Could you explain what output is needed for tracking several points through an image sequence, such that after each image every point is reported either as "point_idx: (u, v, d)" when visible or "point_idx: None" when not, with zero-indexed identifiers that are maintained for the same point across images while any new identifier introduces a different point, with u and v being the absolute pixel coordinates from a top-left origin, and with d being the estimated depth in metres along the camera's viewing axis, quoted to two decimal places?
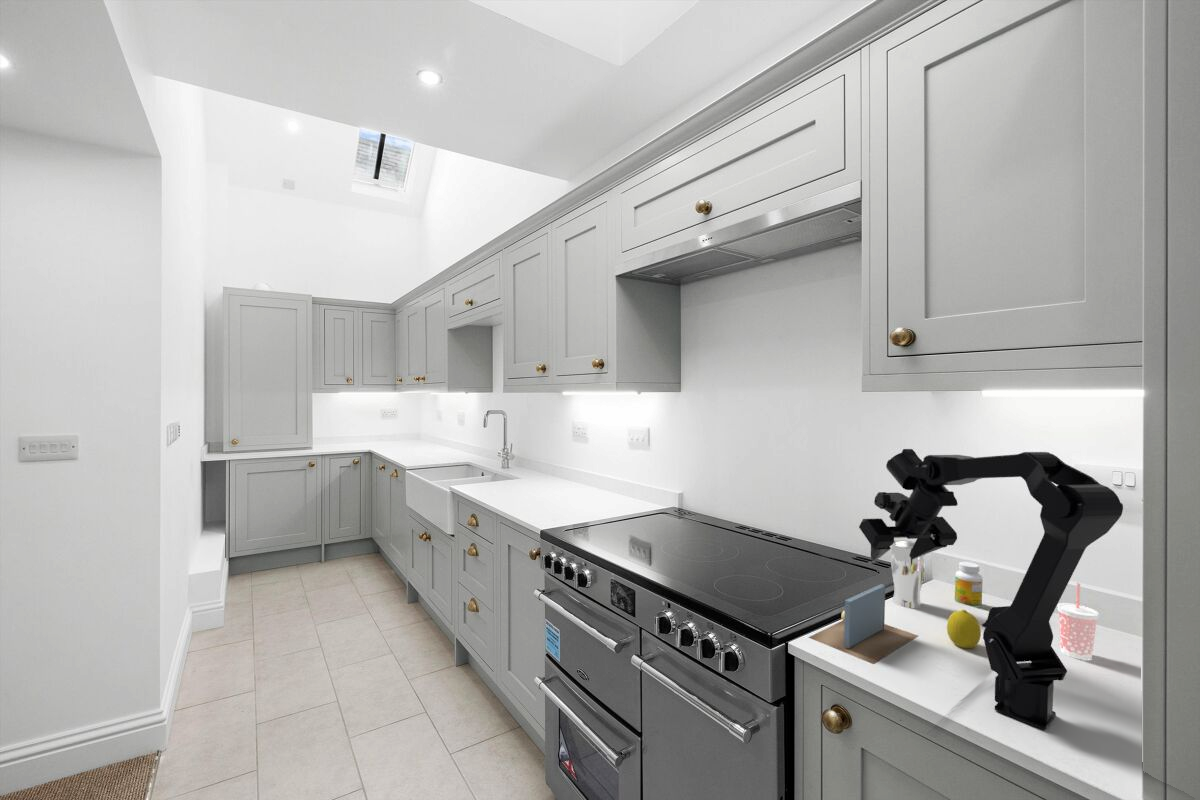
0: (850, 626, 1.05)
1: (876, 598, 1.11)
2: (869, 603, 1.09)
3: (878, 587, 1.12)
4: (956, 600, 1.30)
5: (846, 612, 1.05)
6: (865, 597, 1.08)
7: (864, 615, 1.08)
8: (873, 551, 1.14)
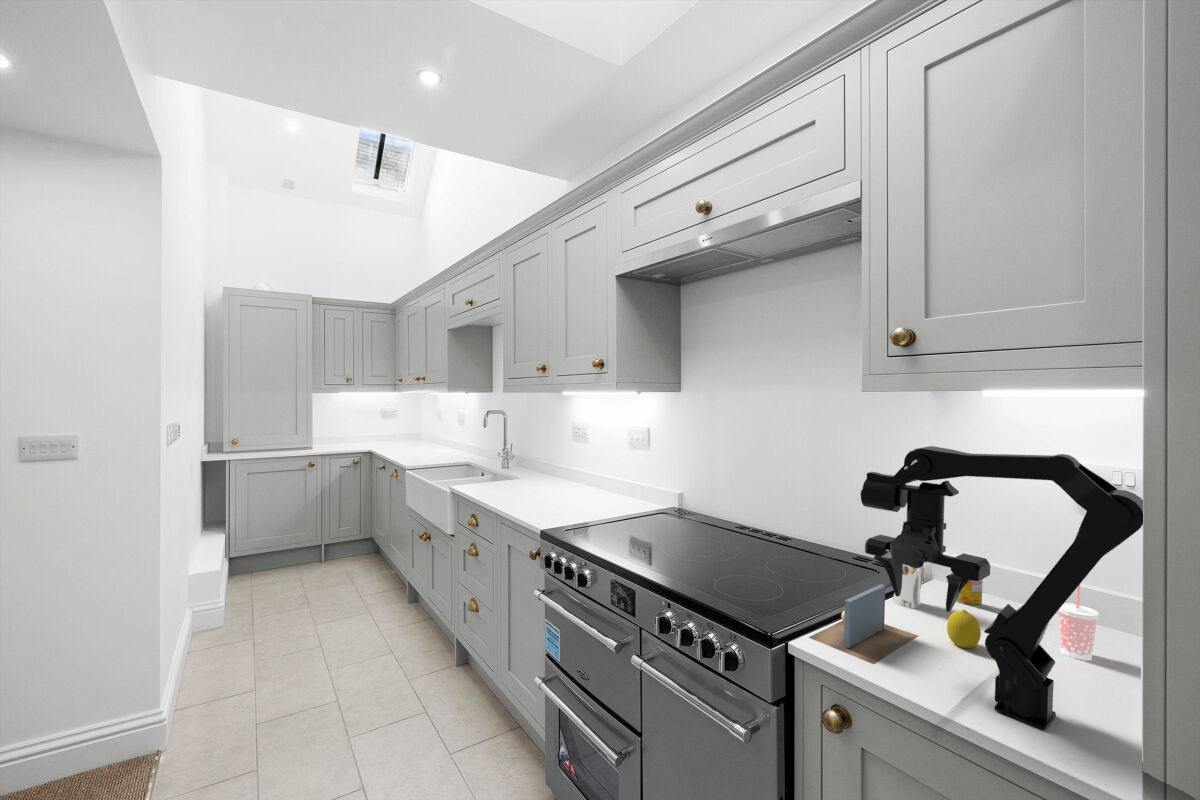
0: (850, 626, 1.05)
1: (876, 598, 1.11)
2: (869, 603, 1.09)
3: (878, 587, 1.12)
4: (956, 600, 1.30)
5: (846, 612, 1.05)
6: (865, 597, 1.08)
7: (864, 615, 1.08)
8: (955, 598, 0.93)
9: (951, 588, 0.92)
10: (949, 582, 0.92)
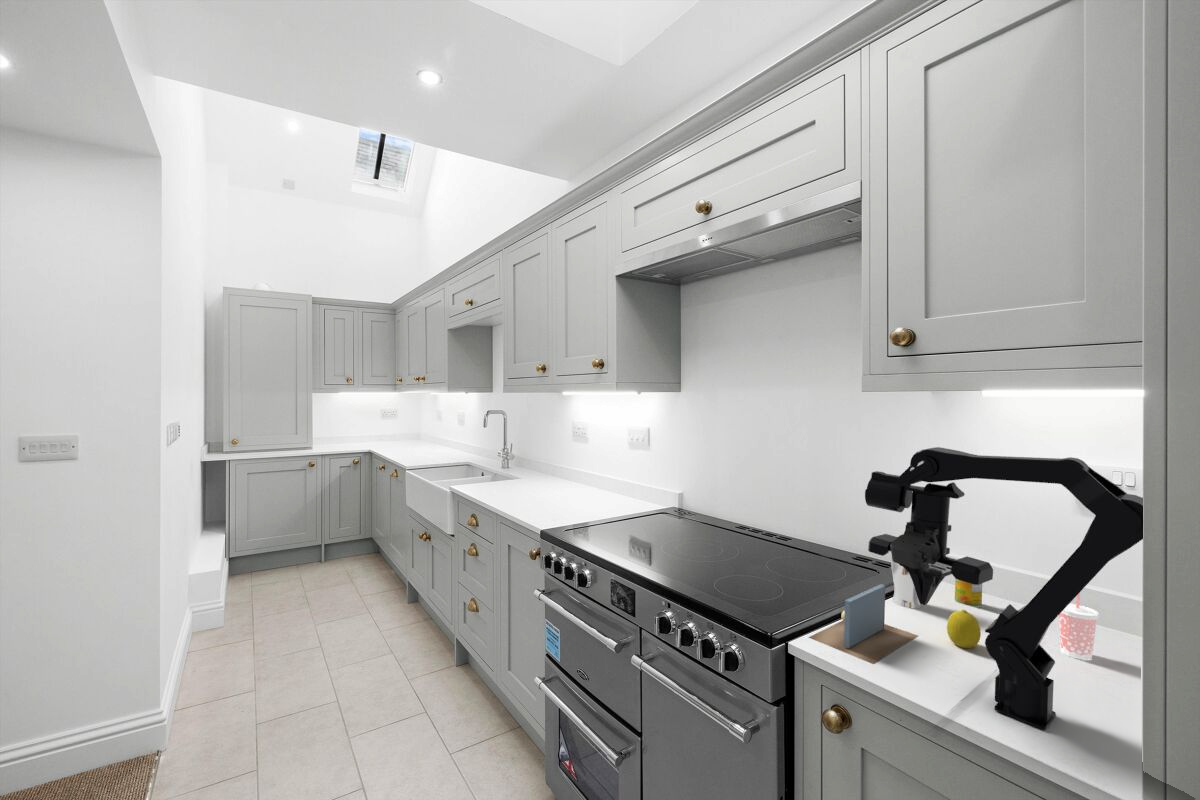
0: (850, 626, 1.05)
1: (876, 598, 1.11)
2: (869, 603, 1.09)
3: (878, 587, 1.12)
4: (956, 600, 1.30)
5: (846, 612, 1.05)
6: (865, 597, 1.08)
7: (864, 615, 1.08)
8: (931, 592, 0.96)
9: (927, 582, 0.95)
10: (925, 576, 0.95)
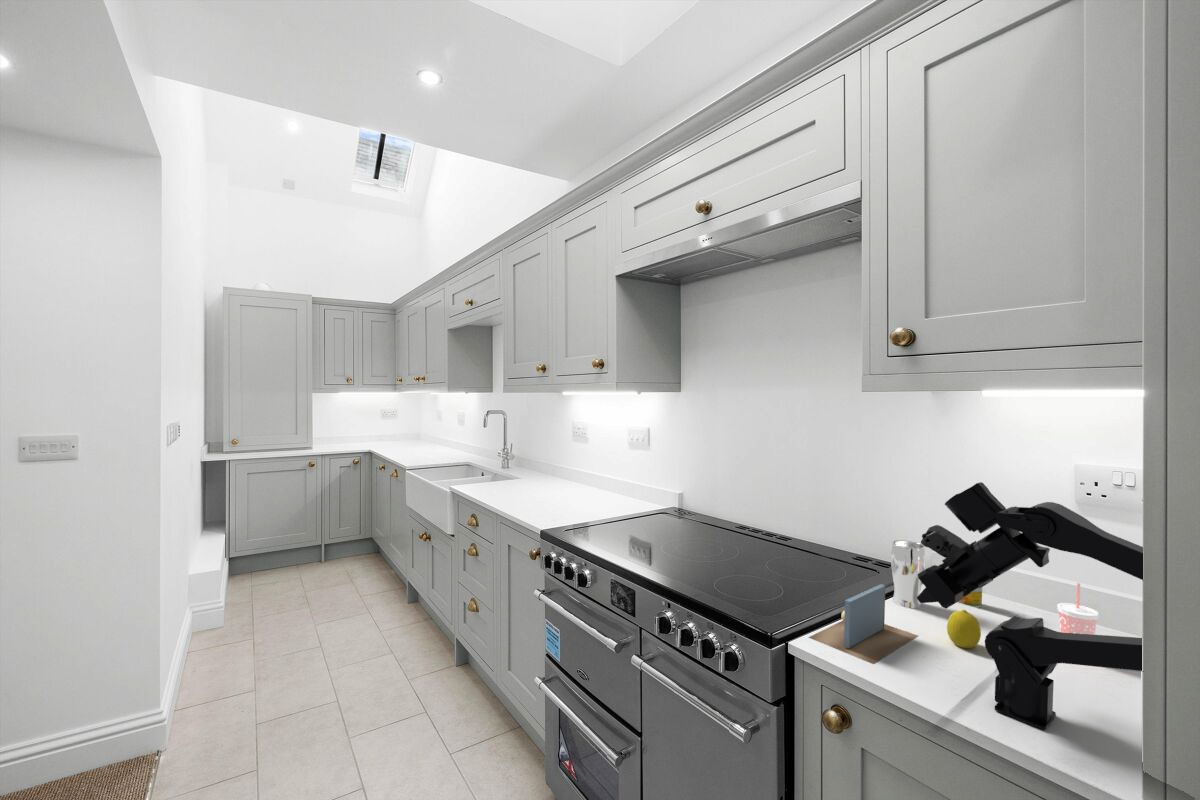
0: (850, 626, 1.05)
1: (876, 598, 1.11)
2: (869, 603, 1.09)
3: (878, 587, 1.12)
4: None
5: (846, 612, 1.05)
6: (865, 597, 1.08)
7: (864, 615, 1.08)
8: (928, 595, 0.96)
9: None
10: None
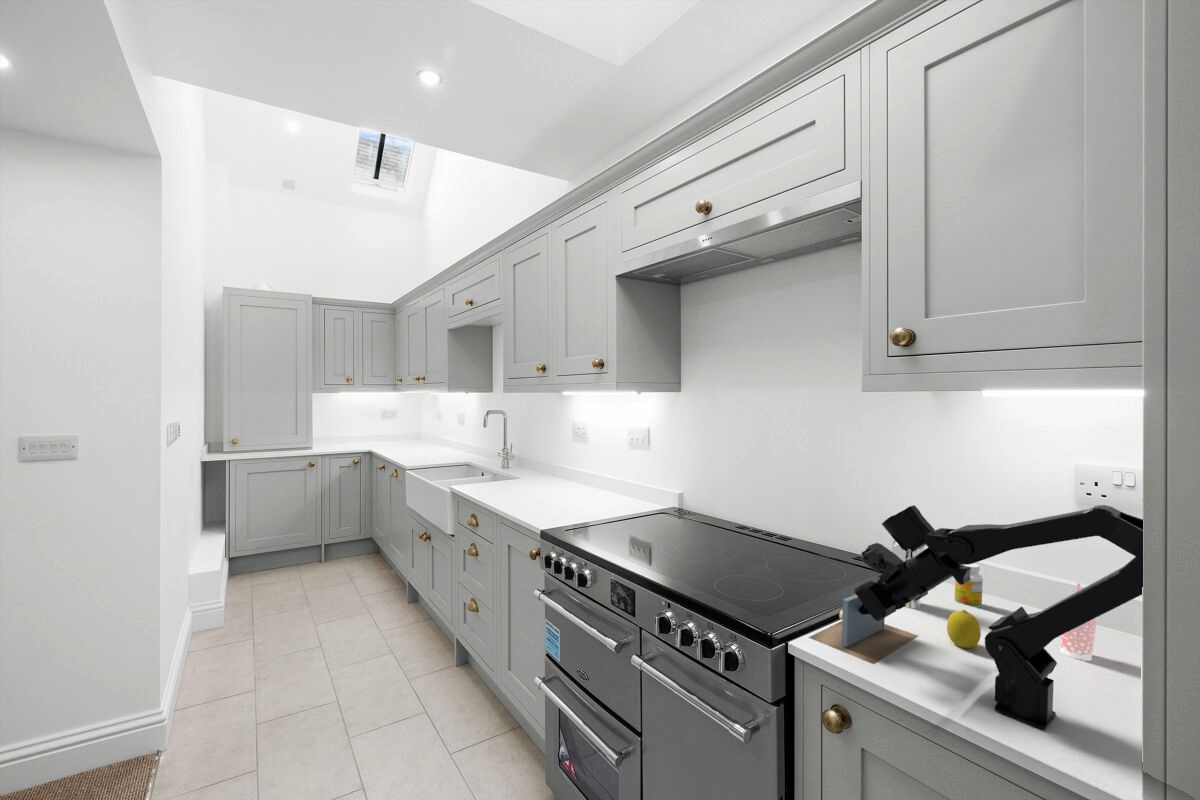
0: (848, 625, 1.05)
1: None
2: None
3: None
4: (956, 600, 1.30)
5: (844, 611, 1.05)
6: None
7: (863, 615, 1.08)
8: None
9: None
10: None
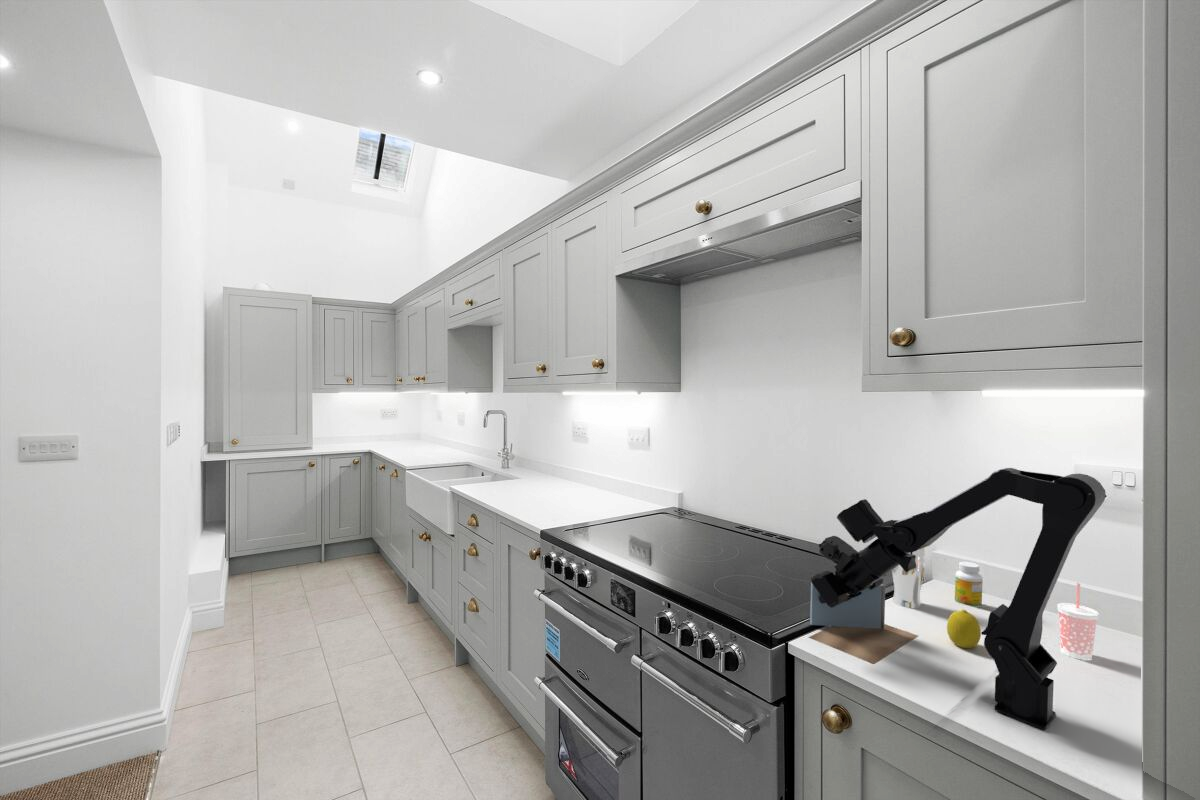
0: (814, 606, 1.14)
1: (865, 593, 1.13)
2: None
3: (872, 584, 1.14)
4: (956, 600, 1.30)
5: (811, 592, 1.15)
6: None
7: (841, 603, 1.14)
8: None
9: None
10: None
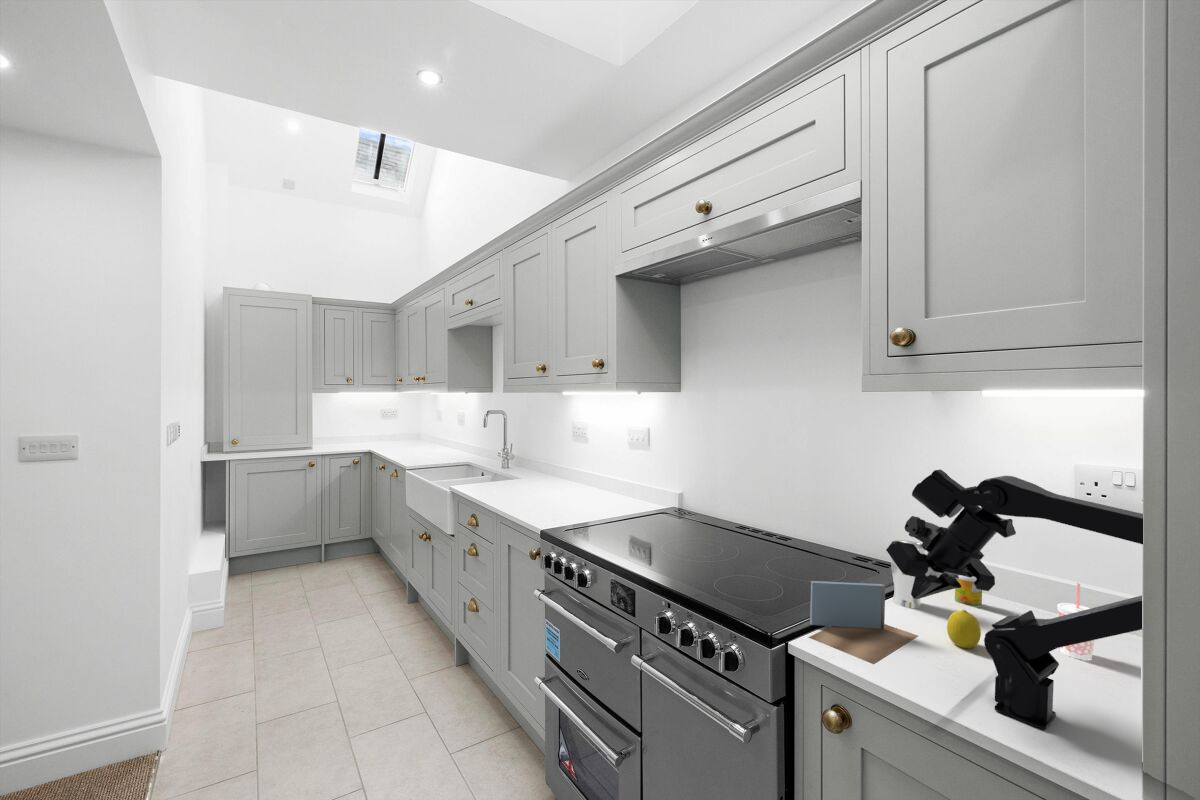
0: (814, 606, 1.14)
1: (865, 593, 1.13)
2: (850, 594, 1.14)
3: (872, 584, 1.14)
4: (956, 600, 1.30)
5: (811, 592, 1.15)
6: (842, 586, 1.14)
7: (841, 603, 1.14)
8: (917, 586, 0.99)
9: None
10: None
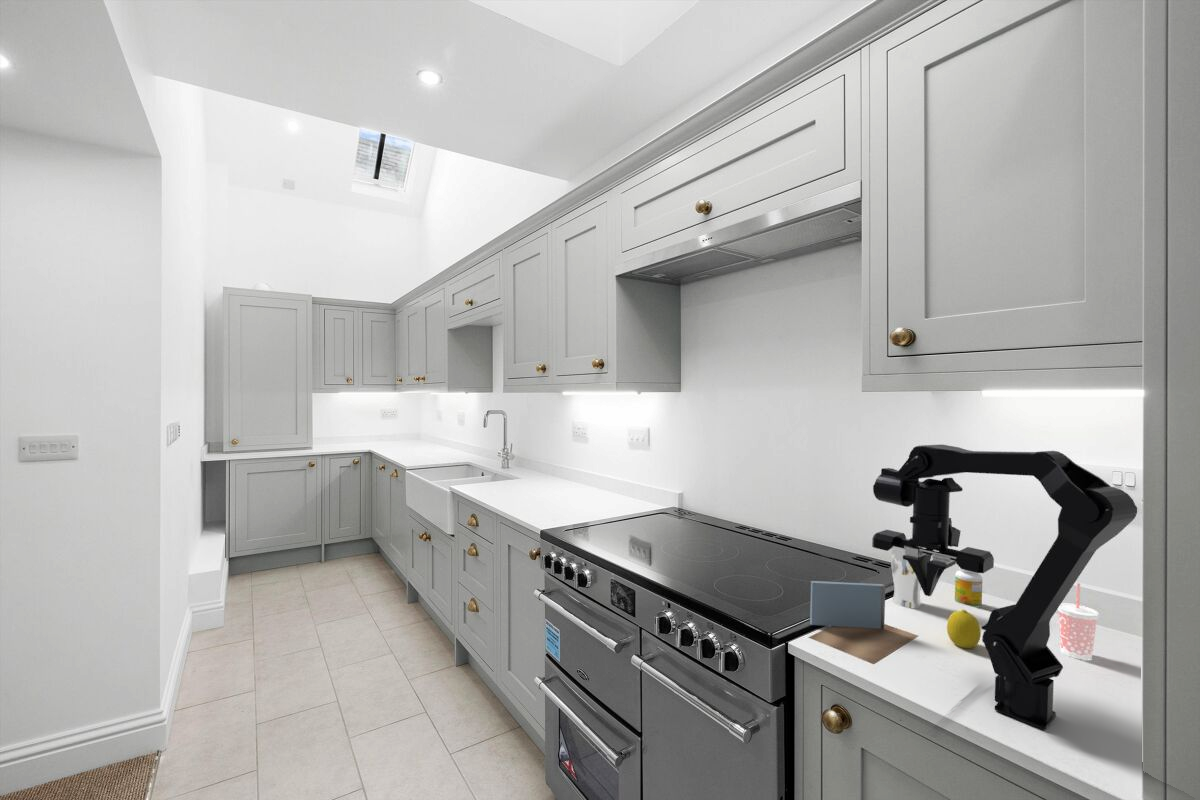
0: (814, 606, 1.14)
1: (865, 593, 1.13)
2: (850, 594, 1.14)
3: (872, 584, 1.14)
4: (956, 600, 1.30)
5: (811, 592, 1.15)
6: (842, 586, 1.14)
7: (841, 603, 1.14)
8: None
9: None
10: (928, 562, 1.03)
